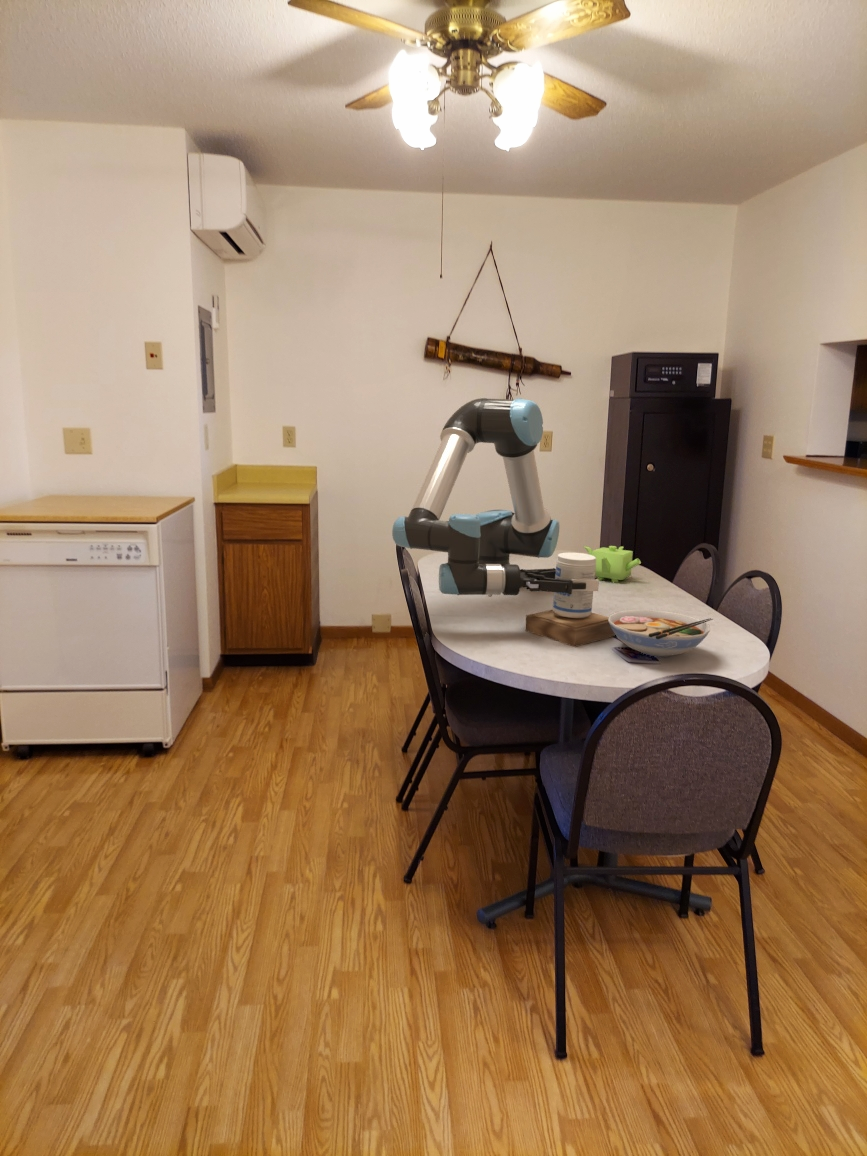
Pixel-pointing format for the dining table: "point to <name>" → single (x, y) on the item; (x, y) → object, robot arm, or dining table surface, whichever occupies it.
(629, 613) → the ramen bowl
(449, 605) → the dining table surface
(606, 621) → the stand
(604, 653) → the dining table surface
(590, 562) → the supplement tub
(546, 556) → the robot arm
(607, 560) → the kettle
